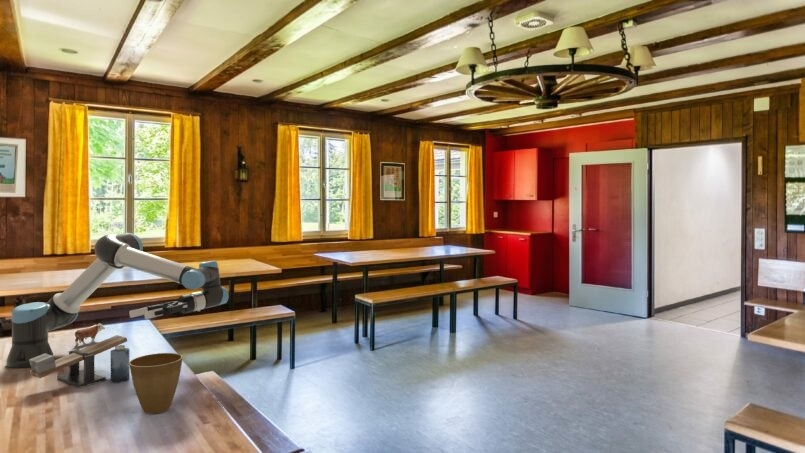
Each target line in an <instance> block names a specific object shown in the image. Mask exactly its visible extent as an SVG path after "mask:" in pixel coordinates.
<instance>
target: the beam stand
mask: <svg viewBox="0 0 805 453" xmlns="http://www.w3.org/2000/svg"><path fill="white" fill-rule="evenodd" d="M74 350H75V349H72V350H69V351H68V355H69V354H72V352H73V351H74ZM76 350H79V349H76ZM56 379H57V380H60V381H62V382H65V383H66V384H69V385H72V386H75V387H77V388H82V387H87V386H89V385H92V384H97V383H101V382H104V381H106V380H107V377H106V376H103V375H100V374H97V373H95V355H94V354H91V355H87V356H84V360H83V369H81V370H80V362H78V363H75V364H73V365H71V366H68V373H65V374H59V375H57V378H56Z"/></svg>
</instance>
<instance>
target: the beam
mask: <svg viewBox="0 0 805 453" xmlns="http://www.w3.org/2000/svg"><path fill="white" fill-rule="evenodd" d="M127 342H128V339H127V337H125V336H122V335H118V334H116V335H113V336H111V337H109V338H107V339H104V340H102V341H100V342H97V343H96V342H95V343H94V344H92V345H89V346H87V347H85V348H82V349H78V350H77V349H73V350H74V351H73V352H72V354H69V353H68V354H67V355H65V356H62V357H60V358H57V359H55V358H54V355H53V356H52V355H49V354H46V353H45V354H42V355H40V356H37V357H34V358H32V359H29V362H30V365H31V367H30V369H31V370H29V373H30V376H33V377H35V378H38V379H42V378H45V377H47V376H49V375H52V374H54V373H57V372H58V371H61V370H63V369H65V368H69V366H71V365H73V364H75V363H78V362H79V363H80V362H82V361H84V356H87V355H91V354H94V356H96V355H99V354H101V353H103V352H106V351H108V350H110V349H111V350H112V349H113V348H114V347H115V346H118V345H123V344H124V343H127Z"/></svg>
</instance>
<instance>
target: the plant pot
mask: <svg viewBox="0 0 805 453" xmlns="http://www.w3.org/2000/svg"><path fill="white" fill-rule="evenodd" d="M182 364H183V355H182V354H179V353H175V352H174V353H173V352H160V353H159V352H158V353H152V354H151V353H150V354H145V355H142V356H138V357H135V358H133V359H131V360H129V372H130V376H131V380H132V384H133V387H134V391H135V394H136V397H137V400H138V402H139V404H140V405H139V406H140V407H141V409H142V412H143V413H144V414H148V415H155V414H161V413H164V412H166V411H168V410H169V409H170V408H171V405H172V403H173V400H174V398H175V394H176V391H177V387H178V383H179V381H180V380H179V379H180V375H181V370H182Z"/></svg>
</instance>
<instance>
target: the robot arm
mask: <svg viewBox="0 0 805 453" xmlns="http://www.w3.org/2000/svg"><path fill="white" fill-rule="evenodd" d="M143 247H144V246H143V241H142V240H141V238H140V237H139V236H138V235H137V234H134V233H131V232H130V233H129V232H122V233H113V234H111V233H110V234H105V235H103V236H101V237H100V238H98V239H97V241H96V242H95V244H94V254H95V256H96V259H95V260H94V261H93V262H92V263H91V264H90V265H89V266H87V267H86V269H85V270H84V271H83V272H82V273H81V274H80V275H79V276H78V277H76V278H75V279H74V281H73V282H72V283H70V285H68V286H67V288H66V289H64V291H63V292H58V293H55V294H54V295H53V296H52V297H50V299H49V300H48V301H47V302H43V301H42V302H41V301H36V302H29V303H24V304H23V303H22V304H20V305H18V306H16V307H14V308H13V310H12V311H11V318H10V321H11V347H10V350H9V352H8V354H7V355H8V356H7V357H6V358H7V359H6V367H8V368H10V369H11V368H12V369H15V368H16V369H25V368H31V365H30V362H29V359H32V358H34V357H37V356H40V355H42V354H45V353H46V354H49V355H52V356H53V357H54V351H53V350H52V347H51V345H50V342H49V332H50V331H53V330H56V329H60V328H65V327H66V326H69V325H70V324H72V323H73V322H74V321H76V319H77V318H78V316H79V312H80V311H81V305H82V304H83V303H84V302H85V301H86V300H87V299H88V298H89V297H90V296H91V295H92V294H93V293H94V292H95V291H96V290H97V289H98V288H99V287H100V286H101V285H102V284H103V283H104V282H105V281H106V280H107V279H108V278H109V277H111V275H112V274H113V273H114V272H115V271H116V270H122V269H124V267H126V268H130V269H133V270H137V271H140V272H143V273H147V274H148V275H149V274H150V275H152V276H156V277H158V278H161V279H165V280H168V281H171V282H175V283H177V284H181V285H183V286H184V287H185V289H188V290H198V289H200V288H202V290H200V291H195V292H192V293H187V294H182V295H180V296H179V297H178V300H176V301H175V300H174V301H173V300H172V301H169V302H165V303H160V304H153V305H147V306H145V307H141V308H136V309H131V310H129V312H128V313H129V314H128V315H129V318H131V319H132V318H136V317H140V316H141V317H142V316H144V319H145V320H148V319H152V318H158V317H161V316H165V315H166V316H167V315H172V314H174V313H175V314H176V313H178V312H180V313H182V314H189V313H193V312H196V311H197V312H201V310H205V309H210V308H213V307H218V306H221V305H225V304H227V302H228V300H229V298H230V297H229V291H228V289H227V287H225V286H222V285H221V278H220V277H221V276H220V268H219V264H218V262H217V260H209V261H203V262H200V263H199V265H198V268H196V267H192V266H189V265H187V264H183V263H180V262H177V261H175V260H170V259H167V258H164V257H161V256H158V255H155V254H151V253H148V252H146V251H143V250H144V248H143Z"/></svg>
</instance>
